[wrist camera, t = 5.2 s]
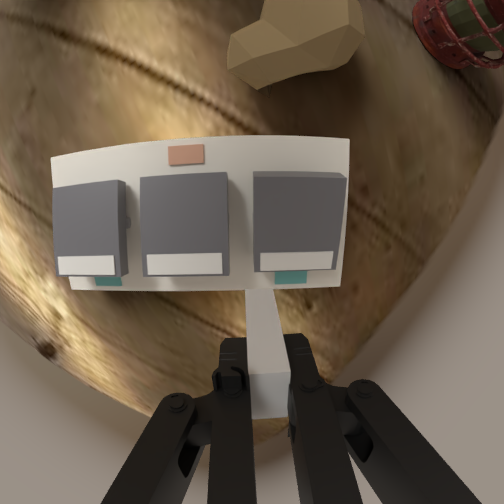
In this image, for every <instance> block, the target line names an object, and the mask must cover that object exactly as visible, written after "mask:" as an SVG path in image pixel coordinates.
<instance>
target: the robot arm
mask: <svg viewBox="0 0 504 504" xmlns="http://www.w3.org/2000/svg"><path fill="white" fill-rule="evenodd" d="M245 304H246V331H247V337H242V338H225V339H224V341H223V342H222V343H221V345H220V356H219V367H218V368H217V369H216V370H215V371H214V372H213V374H212V381H213V387H214V390H213V391H212V392H211V393H209V394H207V395H205V396H202V397H198V398H194V399H193V398H192V397H191V396H190V395H187V394H185V393H173V394H170V395H168V396H166V397H164V398H163V400H162V401H161V402H160V404H159V405H158V407H157V409H156V410H155V412H154V414H153V416H152V417H151V419H150V421H149V422H148V424H147V426H146V427H145V429H144V431H143V433H142V434H141V436H140V438H139V439H138V441H137V443H136V444H135V446H134V448H133V449H132V451H131V453H130V455H129V456H128V458H127V460H126V461H125V463H124V465H123V466H122V468H121V470H120V472H119V473H118V475H117V477H116V478H115V480H114V482H113V484H112V485H111V487H110V489H109V490H108V492H107V494H106V495H105V497H104V499H103V501H102V503H101V504H182V501H183V499H184V496H185V494H186V492H187V489H188V487H189V484H190V482H191V479H192V477H193V474H194V472H195V470H196V467H197V465H198V462H199V460H200V457H201V455H202V452H203V450H204V447H205V445H207V444H211V446H210V462H209V479H208V499H207V504H257V497H256V480H255V463H254V445H253V428H252V419H267V418H280V417H288V415H289V428H288V437H290V439H291V445H292V452H293V458H294V465H295V471H296V478H297V485H298V491H299V497H300V504H363V502H362V499H361V495H360V492H359V488H358V485H357V481H356V478H355V474H354V471H353V467H352V464H351V461H350V457H349V454H350V455H351V457H352V458H353V460H354V462H355V463H356V465H357V466H358V468H359V469H360V471H361V472H362V473H363V475H364V477H365V478H366V480H367V481H368V483H369V484H370V486H371V487H372V489H373V490H374V492H375V493H376V494H377V496H378V498H379V499H380V501H381V502H382V503H383V504H482V503H481V502H480V501H479V500H478V499H477V498H476V496H475V495H474V494H473V493H472V492H471V491H470V490H469V488H468V487H467V486H466V485H465V484H464V483H463V481H462V480H461V479H460V478H459V477H458V476H457V475H456V473H455V472H454V471H453V470H452V469H451V468H450V466H449V465H447V463H446V462H445V461H444V460H443V458H442V457H441V456H440V455H439V454H438V453H437V452H436V450H435V449H434V448H433V447H432V446H431V445H430V444H429V442H428V441H427V440H426V439H425V438H424V437H423V436H422V435H421V433H420V432H419V431H418V430H417V429H416V428H415V426H414V425H413V424H412V423H411V422H410V421H409V420H408V418H407V417H406V416H405V415H404V414H403V413H402V412H401V410H400V409H399V408H398V407H397V406H396V405H395V404H394V403H393V402H392V400H391V399H390V398H389V397H388V396H387V395H386V393H385V392H384V391H383V390H382V389H381V388H380V387H379V386H378V385H377V384H376V383H375V382H373V381H370V380H364V379H361V380H356V381H354V382H352V383H351V384H350V385H349V387H348V388H346V387H337V386H332V385H329V384H327V383H326V382H325V381H324V379H322V378H321V377H320V375H319V373H318V369H317V366H316V363H315V360H314V357H313V354H312V351H311V348H310V344H309V341H308V339H307V338H306V337H305V336H304V335H303V334H302V333H296V334H283V333H282V328H281V323H280V319H279V314H278V310H277V305H276V300H275V296H274V291H273V288H264V289H245ZM348 452H349V454H348Z"/></svg>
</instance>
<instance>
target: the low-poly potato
mask: <svg viewBox="0 0 504 504" xmlns="http://www.w3.org/2000/svg"><path fill="white" fill-rule="evenodd" d="M364 38H365V29H364V22H363V16H362V9H361V5H360V4H359V2H358V0H265V1H264V5H263V8H262V12H261V16H260V20H259V21H256V22H254V23H252V24H250V25H248V26H246V27H244V28H242V29H240V30H238V31H236V32H235V33H233V34H231V37H230V42H229V46H228V51H227V69H228V71H229V72H231V73H232V74H234V75H235V76H237V77H238V78H240V79H241V80H243V81H244V82H246V83H247V84H249V85H250V86H252V87H253V88H255V89H256V90H258V91H259V92H261V93H262V94H264V95H265V96H267V97H268V98H270V92H271V85H272V84H273V83H276V82H278V81H281V80H284V79H287V78H289V77H292V76H296V75H299V74H303V73H308V72H317V71H326V70H334V69H336V68H338V67H340V66H342V65H344V64H346V63H347V62H348V61H349V59H350V58H351V57H352V55H353V54H354V52H355V51H356V49H357V48H358V47H359V45H360V44H361V42H362V41H363V39H364Z"/></svg>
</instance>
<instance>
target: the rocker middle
mask: <svg viewBox="0 0 504 504" xmlns="http://www.w3.org/2000/svg"><path fill="white" fill-rule="evenodd" d="M140 233H141V254H142V270H143V277H194V276H229V274H230V254H229V213H228V174H227V172H211V173H191V174H174V175H160V176H148V177H140Z"/></svg>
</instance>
